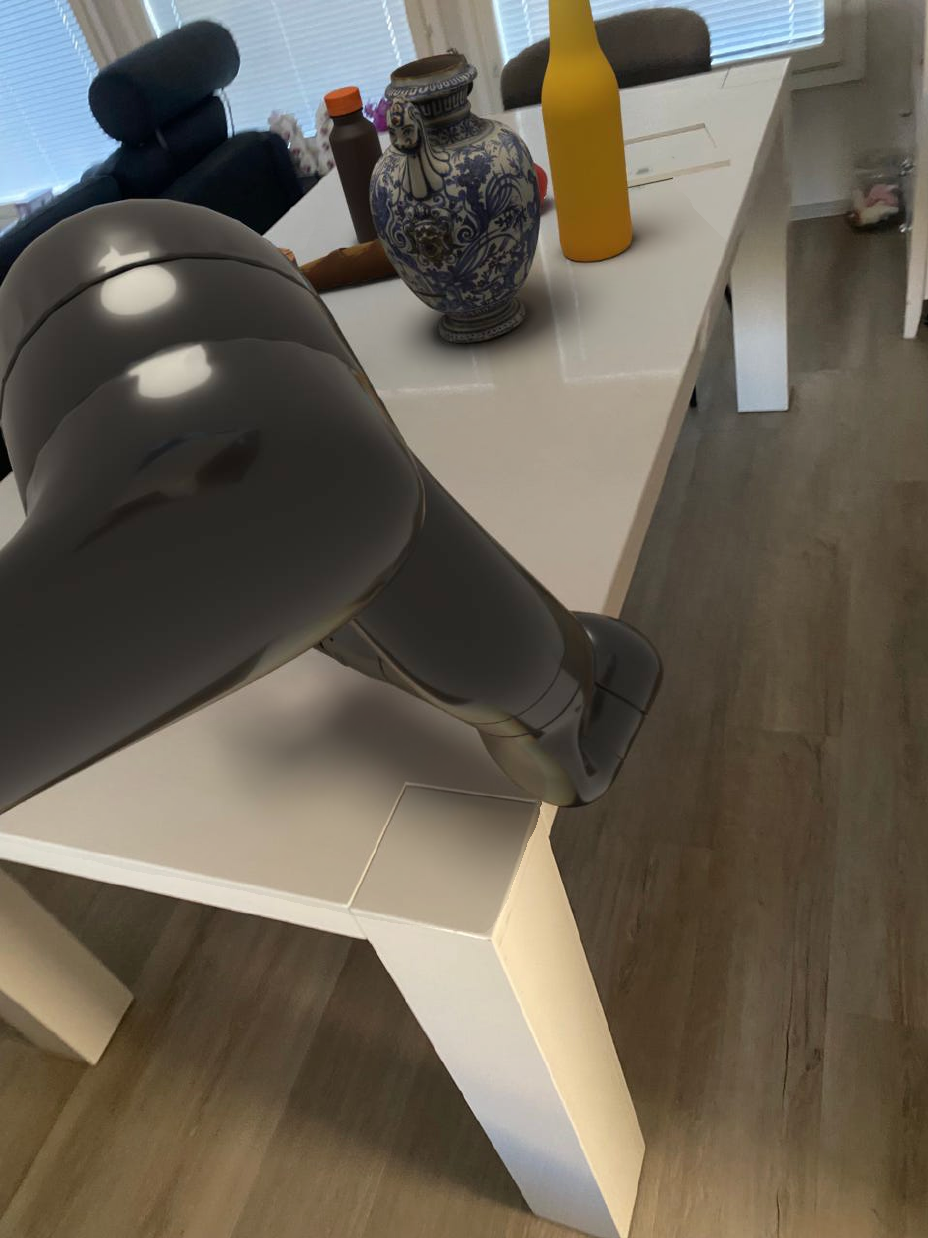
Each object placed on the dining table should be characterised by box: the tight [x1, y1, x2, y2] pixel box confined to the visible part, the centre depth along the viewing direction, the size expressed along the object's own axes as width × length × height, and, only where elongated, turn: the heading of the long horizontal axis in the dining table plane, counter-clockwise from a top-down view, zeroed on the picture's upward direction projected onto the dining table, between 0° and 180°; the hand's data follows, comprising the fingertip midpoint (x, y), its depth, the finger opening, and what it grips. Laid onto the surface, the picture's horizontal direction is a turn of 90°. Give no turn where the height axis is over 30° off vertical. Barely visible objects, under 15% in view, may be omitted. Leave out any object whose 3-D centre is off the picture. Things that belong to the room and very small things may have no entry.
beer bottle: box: [541, 0, 633, 263], centre depth 114 cm, size 9×9×29 cm
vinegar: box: [323, 85, 384, 245], centre depth 136 cm, size 7×7×20 cm
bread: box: [298, 238, 399, 292], centre depth 130 cm, size 38×5×5 cm, turn 91°
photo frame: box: [624, 123, 731, 188], centre depth 141 cm, size 15×1×18 cm
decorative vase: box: [369, 46, 542, 344], centre depth 105 cm, size 21×19×28 cm
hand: (219, 541), depth 71 cm, fingers open, 8 cm apart
